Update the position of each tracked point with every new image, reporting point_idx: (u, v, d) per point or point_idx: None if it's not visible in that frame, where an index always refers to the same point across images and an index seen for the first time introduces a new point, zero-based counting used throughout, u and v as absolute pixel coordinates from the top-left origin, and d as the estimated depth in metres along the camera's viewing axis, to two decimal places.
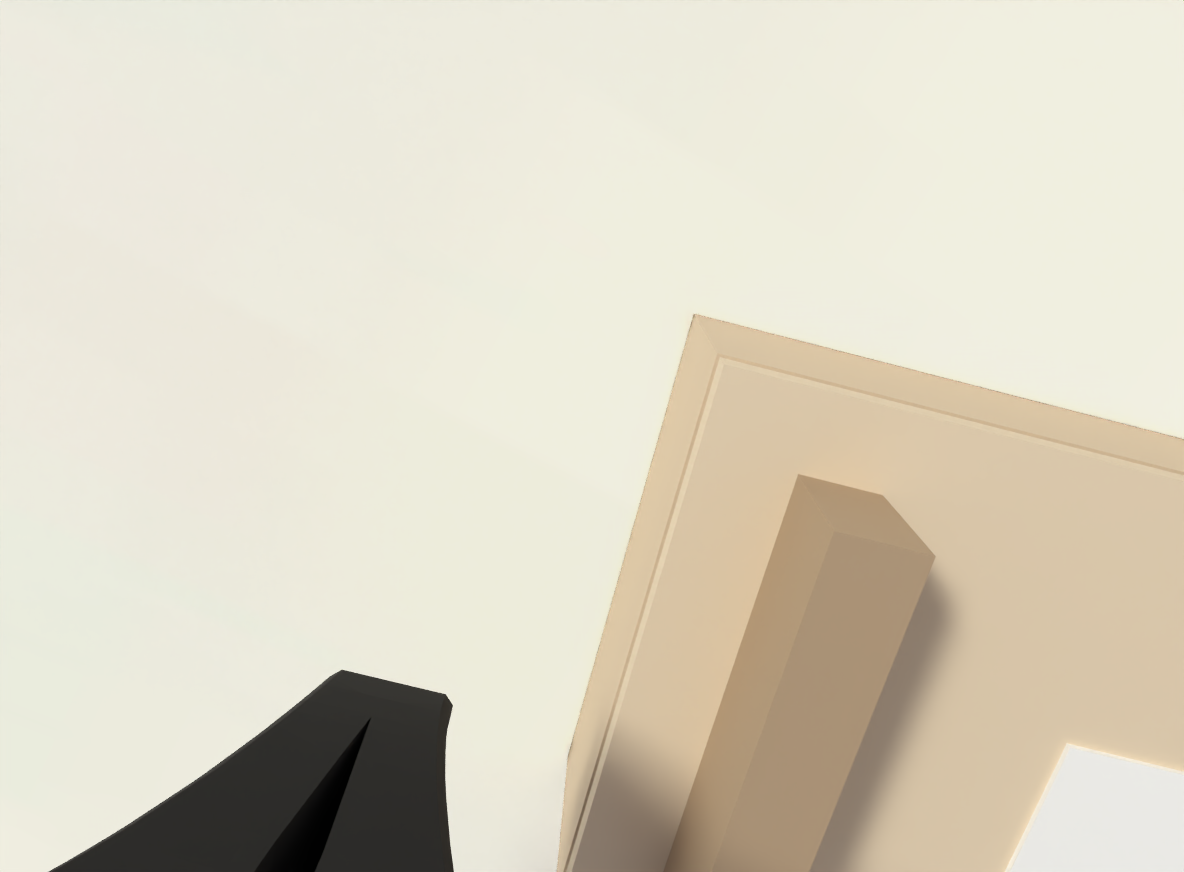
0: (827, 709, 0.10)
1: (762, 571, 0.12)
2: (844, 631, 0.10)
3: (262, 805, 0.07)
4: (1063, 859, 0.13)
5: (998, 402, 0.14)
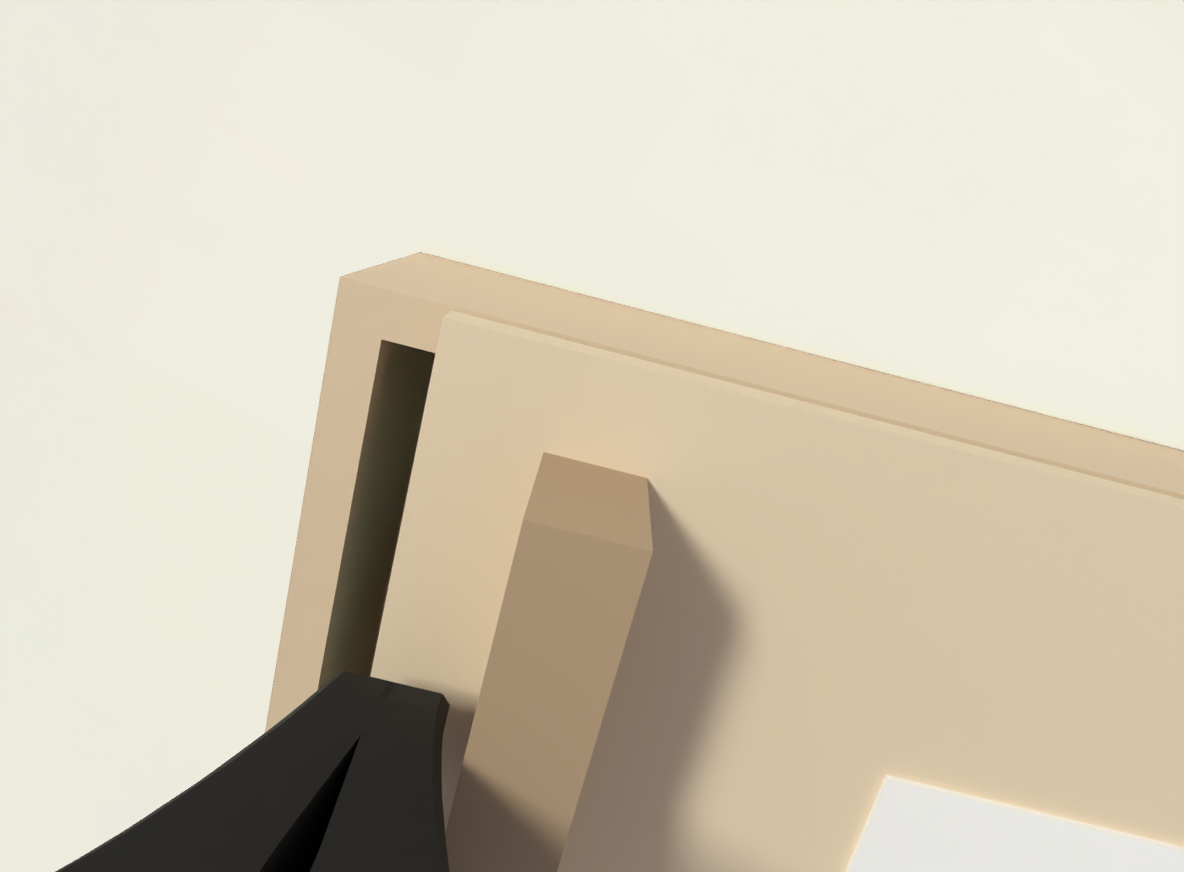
0: (539, 742, 0.08)
1: (510, 569, 0.10)
2: (549, 644, 0.08)
3: (266, 806, 0.07)
4: None
5: (746, 351, 0.12)
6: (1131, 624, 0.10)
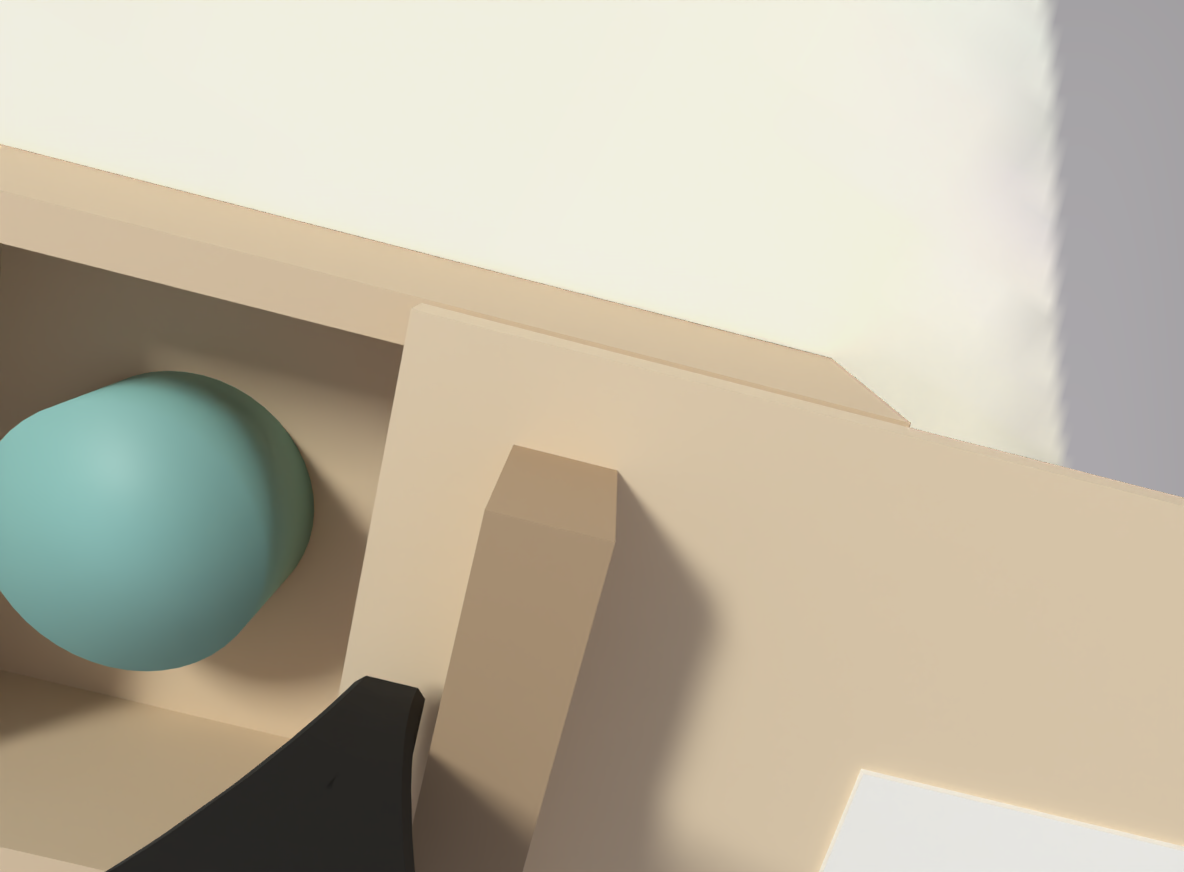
0: (504, 734, 0.08)
1: None
2: (512, 636, 0.08)
3: (296, 813, 0.07)
4: None
5: (273, 228, 0.12)
6: (1105, 616, 0.10)
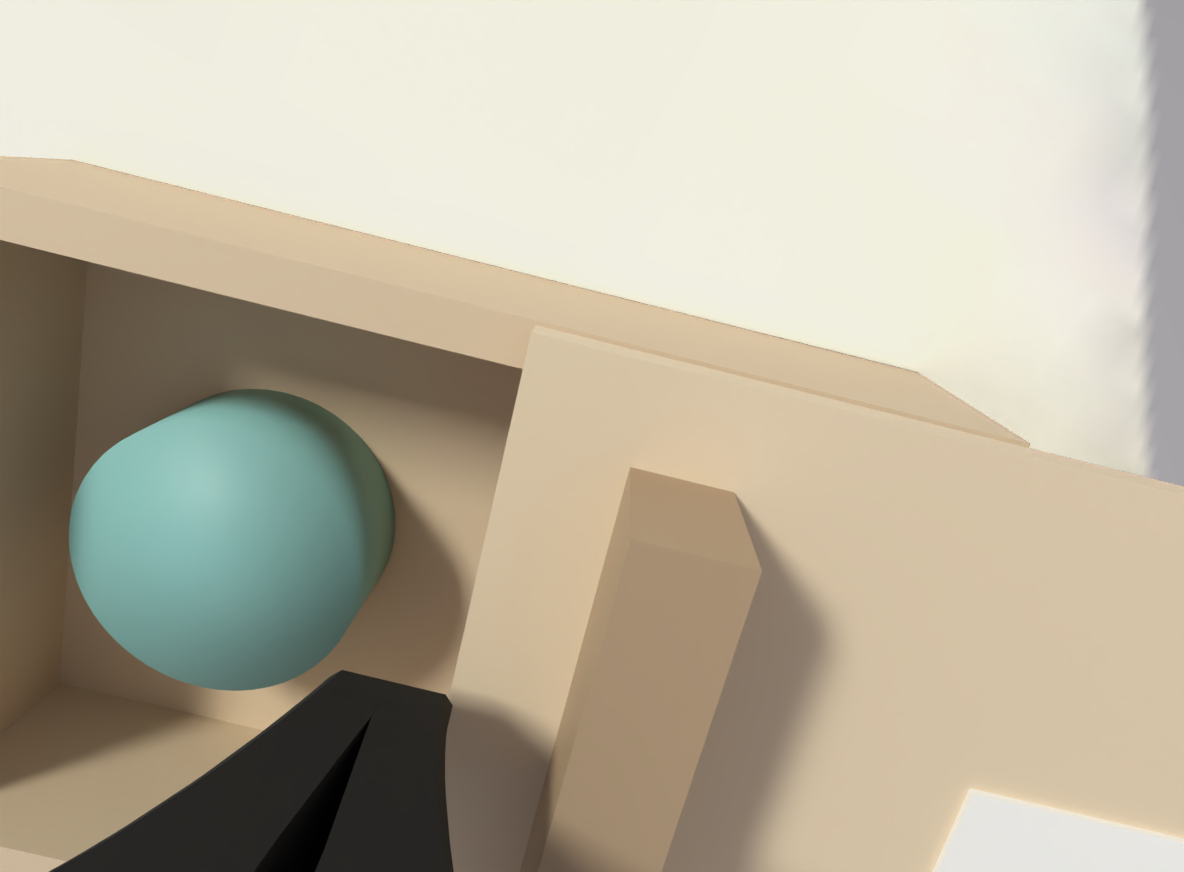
0: (640, 761, 0.08)
1: (595, 584, 0.10)
2: (653, 665, 0.08)
3: (262, 805, 0.07)
4: None
5: (368, 248, 0.12)
6: None
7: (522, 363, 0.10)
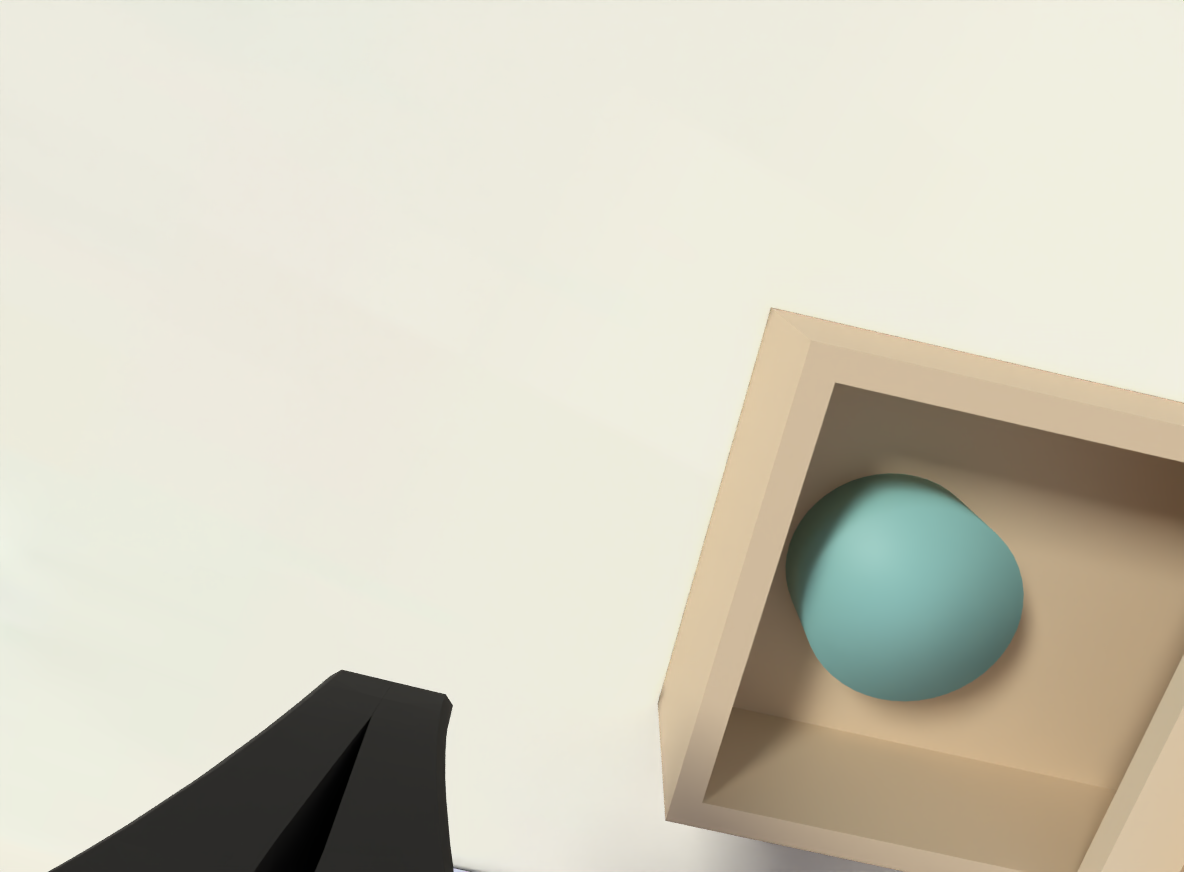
0: None
1: None
2: None
3: (262, 805, 0.07)
4: None
5: (1042, 378, 0.16)
6: None
7: None
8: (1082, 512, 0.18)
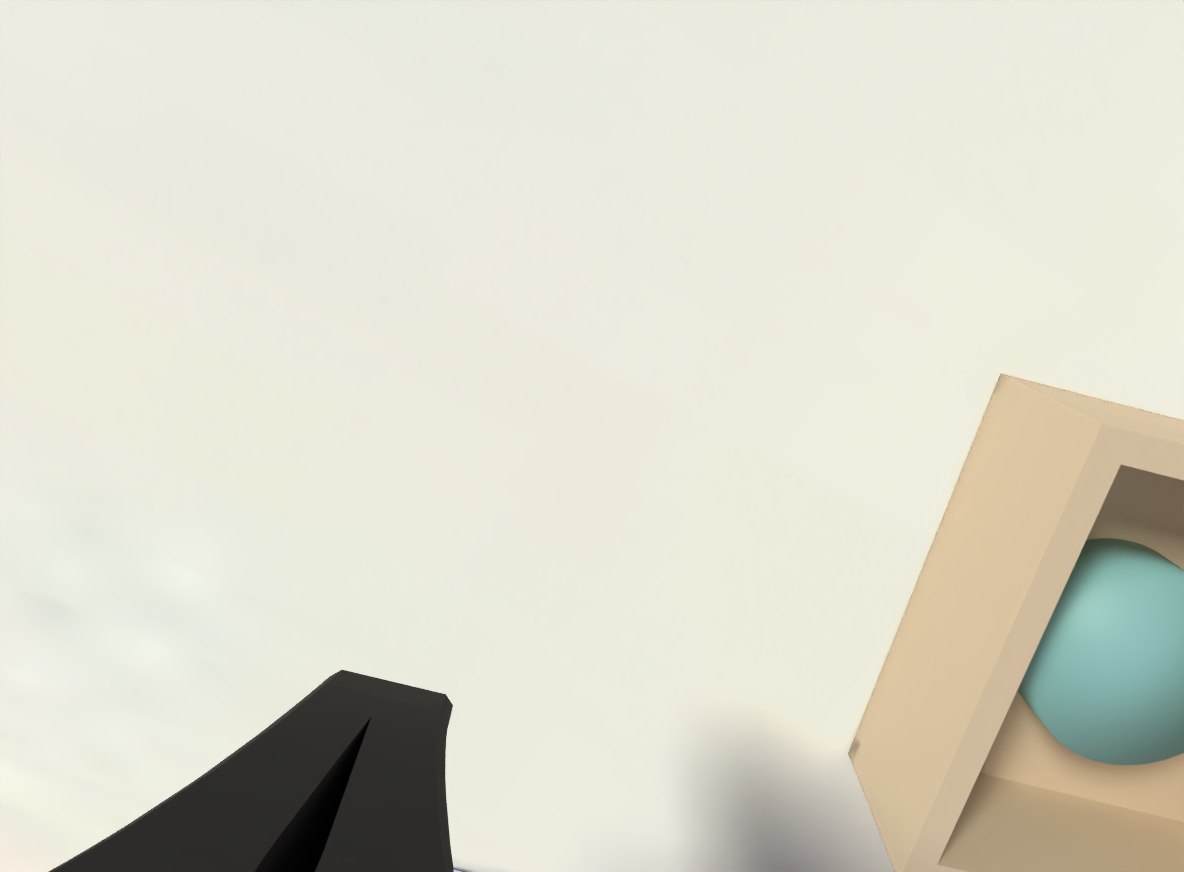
0: None
1: None
2: None
3: (262, 805, 0.07)
4: None
5: None
6: None
7: None
8: None
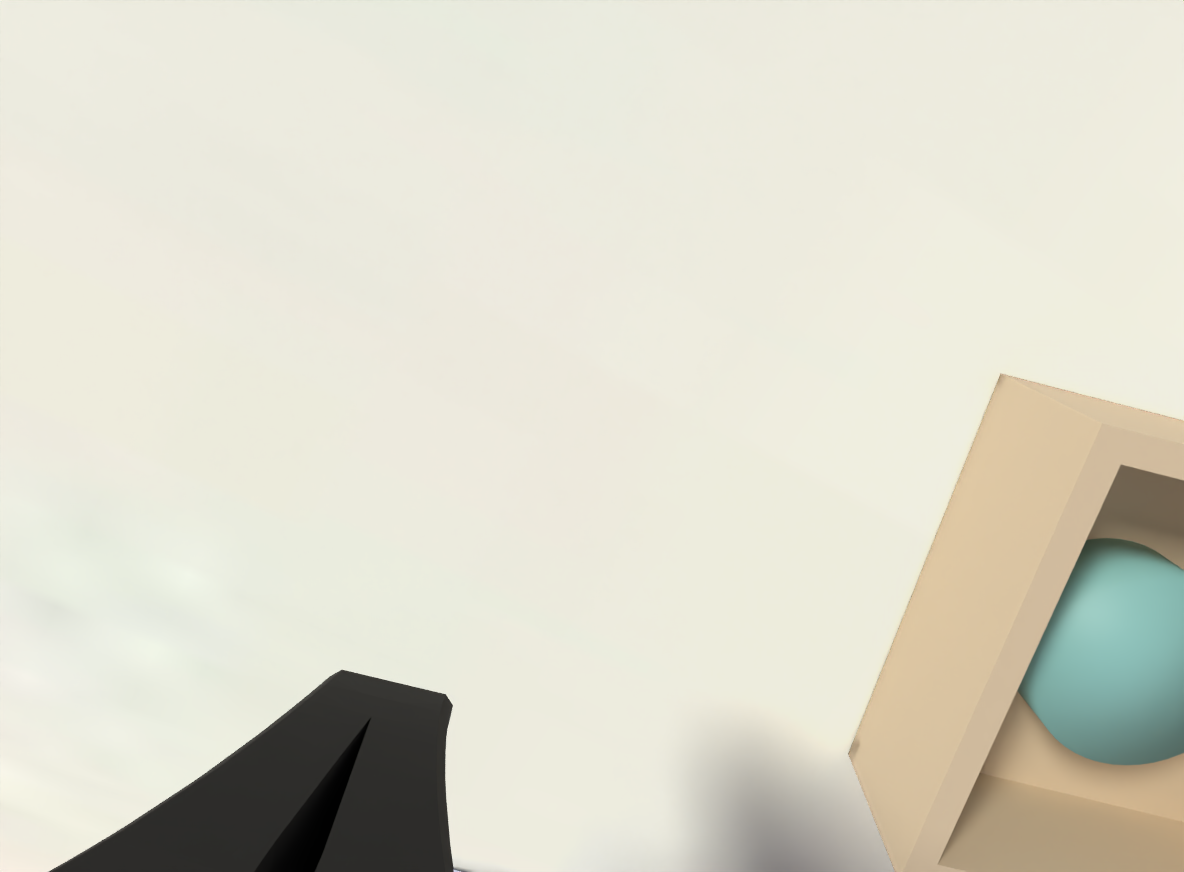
0: None
1: None
2: None
3: (262, 805, 0.07)
4: None
5: None
6: None
7: None
8: None
